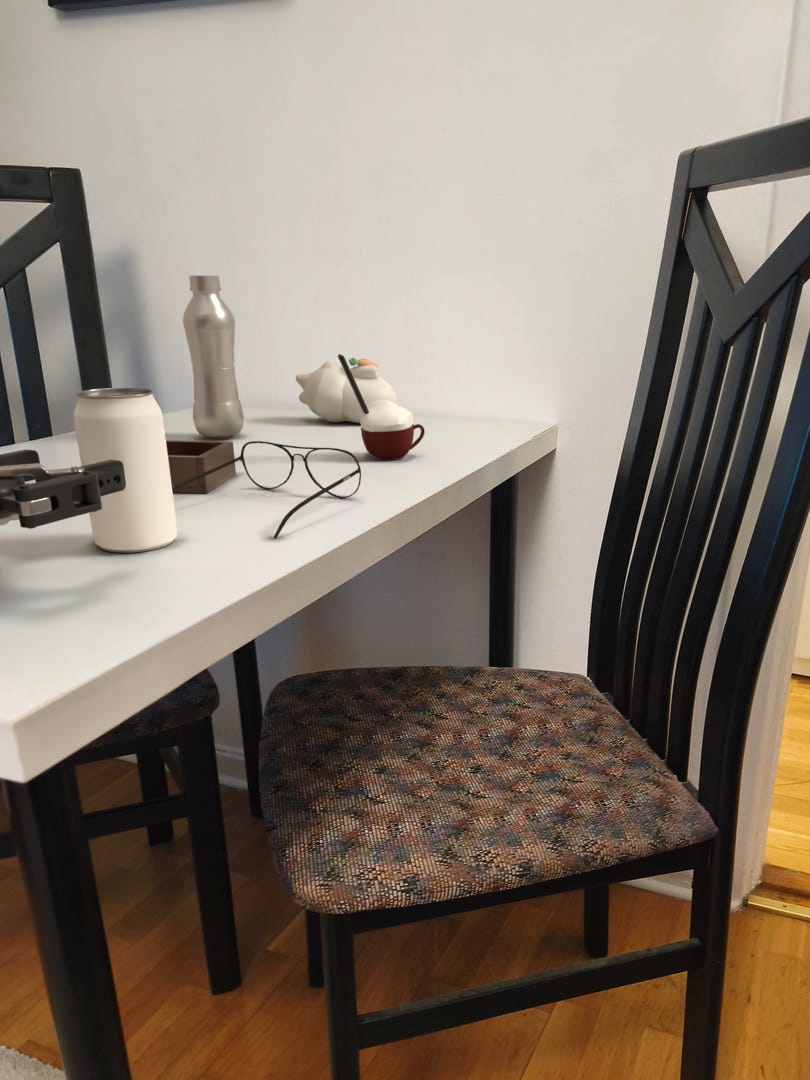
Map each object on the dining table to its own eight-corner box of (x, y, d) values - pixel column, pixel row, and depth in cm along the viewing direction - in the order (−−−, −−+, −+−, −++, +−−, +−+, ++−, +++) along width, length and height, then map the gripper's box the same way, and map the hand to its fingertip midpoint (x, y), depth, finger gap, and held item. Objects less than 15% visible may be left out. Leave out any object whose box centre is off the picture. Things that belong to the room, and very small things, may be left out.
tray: (118, 491, 90) (113, 455, 88) (155, 472, 98) (151, 439, 97) (207, 493, 89) (203, 457, 88) (236, 474, 98) (233, 441, 96)
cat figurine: (401, 356, 128) (300, 341, 129) (389, 391, 123) (284, 376, 124) (403, 408, 136) (308, 394, 137) (391, 444, 131) (292, 429, 132)
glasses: (366, 500, 87) (361, 450, 85) (279, 557, 75) (270, 501, 73) (246, 486, 92) (238, 438, 90) (146, 537, 80) (134, 484, 78)
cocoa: (425, 452, 110) (424, 351, 105) (421, 462, 104) (419, 355, 100) (349, 451, 110) (344, 350, 106) (340, 461, 104) (335, 355, 100)
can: (160, 527, 77) (141, 384, 73) (191, 544, 73) (172, 393, 68) (83, 540, 73) (58, 390, 69) (111, 558, 69) (86, 399, 64)
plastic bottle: (184, 440, 117) (165, 275, 109) (213, 431, 123) (197, 275, 115) (228, 443, 115) (211, 276, 107) (255, 434, 121) (241, 275, 113)
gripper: (-72, 467, 49) (144, 424, 62) (-231, 445, 54) (0, 410, 68) (-42, 596, 52) (158, 528, 65) (-196, 563, 57) (19, 507, 71)
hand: (77, 468), depth 66 cm, fingers open, 8 cm apart
